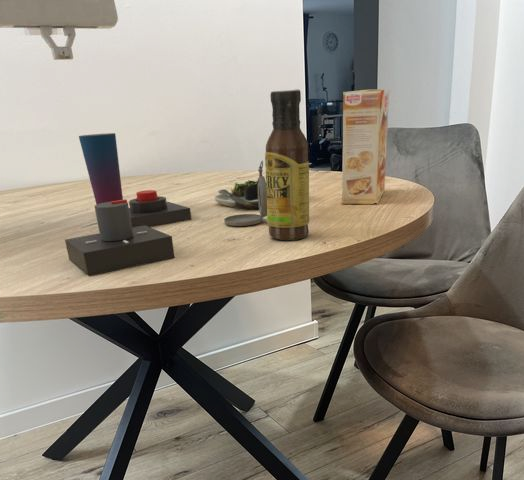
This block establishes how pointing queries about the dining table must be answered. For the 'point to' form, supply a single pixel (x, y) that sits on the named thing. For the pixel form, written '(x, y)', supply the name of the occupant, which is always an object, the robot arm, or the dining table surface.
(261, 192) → the pocket watch
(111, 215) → the timer knob
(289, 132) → the sauce bottle
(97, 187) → the cup
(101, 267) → the panel
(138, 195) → the power button
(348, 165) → the coffeecake box
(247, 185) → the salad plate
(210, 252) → the dining table surface
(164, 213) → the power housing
